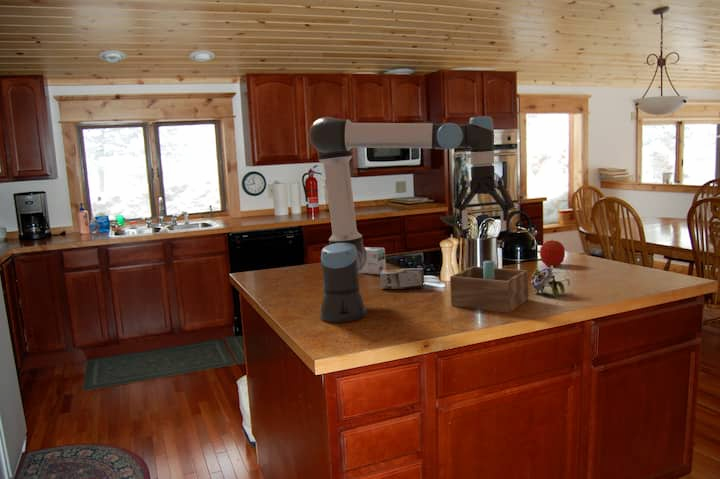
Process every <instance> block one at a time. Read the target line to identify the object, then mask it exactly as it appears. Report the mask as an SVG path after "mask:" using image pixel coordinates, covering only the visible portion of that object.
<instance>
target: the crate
mask: <svg viewBox="0 0 720 479" xmlns="http://www.w3.org/2000/svg"><path fill="white" fill-rule="evenodd" d="M528 274H529V271H528V270H525V269H514V268H512V269H511V268H500V267H499V268H497V267H494V276H495V280H491V279H484V278H483V266H474V265H472V266H470V267H468V268H466V269H464V270H461V271H460V272H457V273H455V274H453V275H450V278H449V279H450V281H449V282H450V299H451V300H450V303H451V306H452V307H459V308H467V309H474V310H481V311H490V312H498V313H505V314H506V313H507V314H509V313H511V312H513V311H514V310H515V309H516V308H518V307H520V305H523V304H524V303H526V301H528V300H529V275H528Z"/></svg>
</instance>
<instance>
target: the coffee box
mask: <svg viewBox="0 0 720 479" xmlns="http://www.w3.org/2000/svg"><path fill="white" fill-rule="evenodd" d="M379 277H380V278H379V279H380V289H381V290H392V289H393V290H399V289H402V290H403V289H404V290H405V289H408V290H409V289H410V290H413V289H416V290H417V289H418V290H420V289H423V288H424V285H423V283H424V284H425V273H424V268H423V267H417V268H416V267H415V268H411V267H410V268H386V269H383V271H382V272H381V273H380V274H379Z"/></svg>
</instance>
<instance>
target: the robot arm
mask: <svg viewBox="0 0 720 479" xmlns="http://www.w3.org/2000/svg"><path fill="white" fill-rule="evenodd" d="M494 131H495V128H494V119H493V118H492V117H491V116H489V115H488V116H487V115H486V116H475V117H470V118H469V122H468V123H464V124H457V123H454V122H446V123H430V122H429V123H428V122H427V123H423V122H422V123H420V122H418V123H416V122H415V123H414V122H413V123H412V122H410V123H409V122H408V123H407V122H403V123H402V122H399V123H397V122H352V121H351V120H350V119H340V118H337V117H331V116H323V117H320V118H317V120H315V121H314V122H313V123H312V124H311V126H310V129H309V132H308V133H309V134H308V137H309V142H310V144H311V146H312V147H313V148H314V149H315V150H316V151H317V157H318V162H320V163H321V164H322V165H323V167H324V168H323V170H324V177H325V184H326V194H327V200H328V208H329V216H330V223H331V225H330V226H331V236H330V237H329V238H328V244H329V245H325V246H324V247H323V248H322V249H321V250H320V251H321V252H320V253H321V254H320V255H321V256H320V262H321V271H322V272H321V273H322V284H323V299H322V303H321V308H320V311H319V312H320V313H319V315H320V319H321V320H322V321H323V322H329V323H349V322H354V321H359V320H360V319H364V318H365V317H366V316H367V308H366V305H365V304H364V300H363V297H362V295H361V293H360V292H361V291H360V278H359V274H360V273H359V271H360V270H361V269H362V268H363V267H364V265H365V263H366V258H367V254H366V250H365V248H364V247H365V245H364V242H363V241H364V240H363V234H361V233H360V232H359V231H358V228H357V219H356V211H355V203H354V195H353V194H354V193H353V187H352V177H351V168H350V163H349V162H350V161H351V159H352V158H353V148H360V149H361V148H362V149H363V148H364V149H365V148H366V149H367V148H368V149H369V148H370V149H371V148H372V149H373V148H374V149H375V148H376V149H382V148H384V149H435V150H454V149H463V148H465V149H466V148H469V149H470V152H469V153H470V165H471V167H470V178H471V180H468V179H467V180H466V179H465V180H462V181H461V188H460V191H459V193H458V196H457V198H456V199H455V200H456V201H455V202H454V205H453V206H454V208H455V209H458V211H459V219H460V220H461V223H462V224H461V227H462V228H461V229H462V230H468V229H469V216H468V214H469V211H468V209H467V207H468V205H469V204H470V203H471V201H472V200H474V197H475V196H476V195H481V194H483V195H488V196H491V197H492V199H493V200H494V201H495V202H496V203H497V205H498V206H499V207H500V208H501V210H500V212H499V213H500V232H505V231H507V221H509V214H510V213H509V211H510V210H511V209H515V204H514V202H513V200H512V198H511V195H510V194H509V192H508V190H507V187H506V185H505V183H506V182H505V179H498V180H495V176H496V174H495V166H494V165H493V164H495V149H494V148H495V132H494ZM470 186H471V190H470V192H469V194H468V195H467V196H466V194H467V191H468V189H469V188H470ZM495 187H498V190H499V192H500V195H499V193H498V192H497V190H496V189H495ZM465 196H466V198H465ZM501 196H502V197H501Z"/></svg>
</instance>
